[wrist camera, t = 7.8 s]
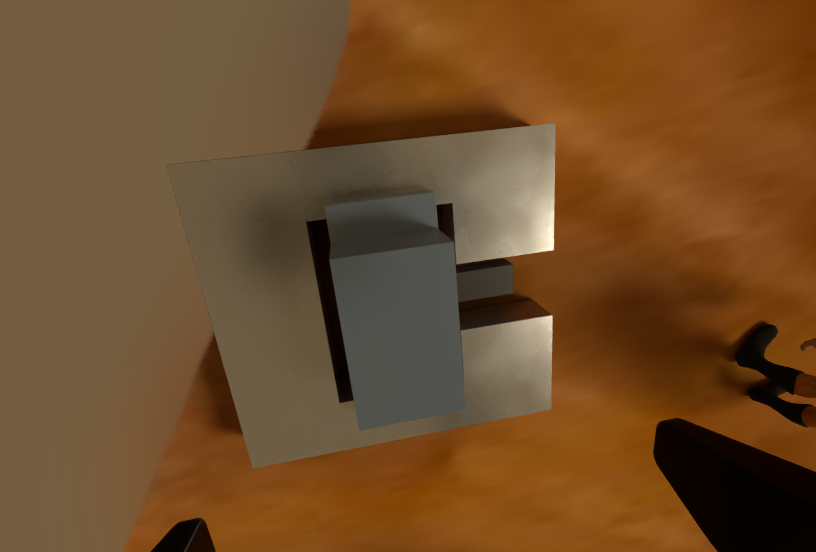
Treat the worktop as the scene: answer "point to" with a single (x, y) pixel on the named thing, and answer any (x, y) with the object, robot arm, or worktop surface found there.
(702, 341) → the worktop surface
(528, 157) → the plate
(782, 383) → the action figure
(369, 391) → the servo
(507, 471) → the worktop surface
